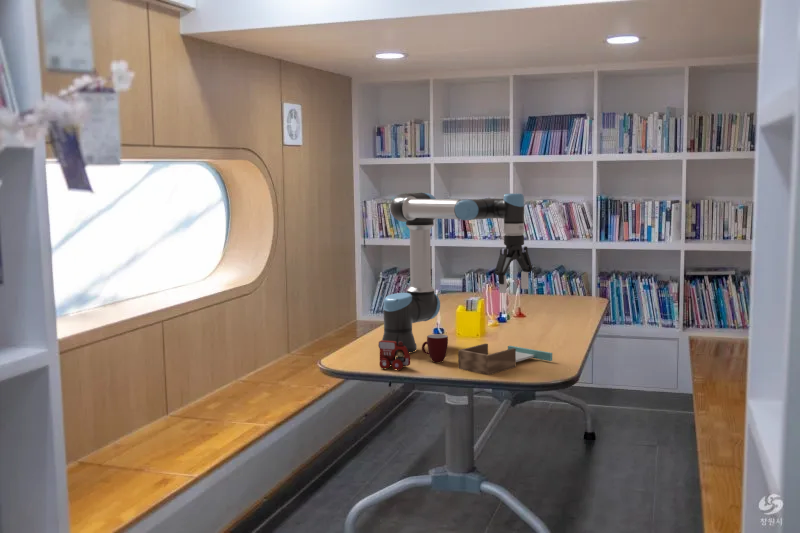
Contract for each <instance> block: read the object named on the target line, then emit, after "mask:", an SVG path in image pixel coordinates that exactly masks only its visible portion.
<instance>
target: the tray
mask: <svg viewBox="0 0 800 533" xmlns="http://www.w3.org/2000/svg"><path fill="white" fill-rule="evenodd" d="M512 348H514V349H516V363H518V362H522V361H525V360H528V359H537V360H543V361H547V362H552V361H553V352H550V351H543V350H537V349H532V348H526V347H520V346H515V345H508V346H507V350H508V349H512Z"/></svg>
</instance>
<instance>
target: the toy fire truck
mask: <svg viewBox="0 0 800 533" xmlns="http://www.w3.org/2000/svg"><path fill="white" fill-rule="evenodd" d="M378 349H379V367H380V368H381V369H382V368H388V369H390V367H392V369H393V370H394V369H397V370H398V371H400V370H402V369H403V368H404V367H403V366H405V367H409V366H411V353H409V352H408V350H407V348H406V346H403V342H402V341H399V342H398V343H397V342H395V341H383V340H382V339H381V340H379V341H378ZM398 349H400V350H398ZM397 350H398V351H397ZM396 351H397V352H396ZM390 365H392V366H390ZM397 370H396V371H397Z"/></svg>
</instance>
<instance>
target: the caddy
mask: <svg viewBox="0 0 800 533" xmlns="http://www.w3.org/2000/svg"><path fill="white" fill-rule="evenodd" d="M457 351H458V352H457V353H458V354H457V355H458V356H457V358H458V361H457V362H458V364H457V366H458V368H459V370H462V369H463V371H467V370H468V372H471V373H472V372H473V373H478V374H483V375H486V376H487V375H488V376H490V375H492V374H493V375H494V374H496V373H499V372H503V371H507V370H511V369H515V368H516V367H517V366H516V363H517V362H516V349H514V348H512V349H508V348H507V349H505V350H501V351H498V352H494V353H490V354H489V344H488V343H481V344H478V345H474V346H469V347H465V348H461V349H458V350H457Z"/></svg>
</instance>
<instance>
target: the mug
mask: <svg viewBox="0 0 800 533" xmlns="http://www.w3.org/2000/svg"><path fill="white" fill-rule="evenodd" d="M448 344H449V336H448V335H447V334H443V333H442V334H441V333H438V334H437V333H435V334H429V335H427V336H426V341H424V342H422V345H421V350H422V353H424V354H425V355H429V358H430V359H431V361H432V362H433V361H434V362H433V363H436V362H440V363H443V362H444V360H445V358H446V356H447V352H448V351H447V350H448ZM425 346H427V351H426V348H425ZM442 361H443V362H442Z"/></svg>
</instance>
